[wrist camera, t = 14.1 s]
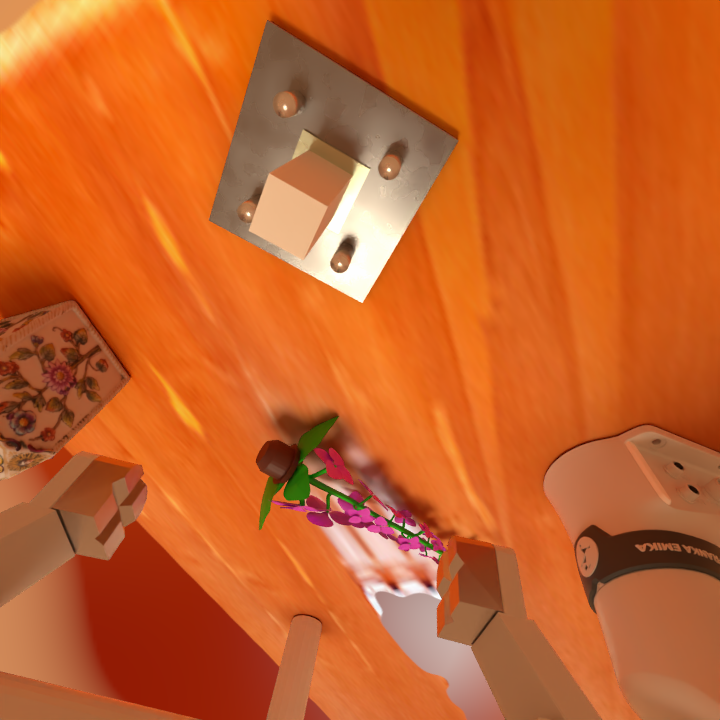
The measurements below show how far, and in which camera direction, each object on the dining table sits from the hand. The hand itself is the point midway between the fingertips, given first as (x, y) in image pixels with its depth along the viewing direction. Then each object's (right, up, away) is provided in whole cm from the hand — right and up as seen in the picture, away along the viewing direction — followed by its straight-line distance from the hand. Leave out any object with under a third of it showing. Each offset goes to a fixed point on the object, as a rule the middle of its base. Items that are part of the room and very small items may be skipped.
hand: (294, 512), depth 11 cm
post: (-2, +19, +24) cm, 30 cm away
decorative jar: (-34, +6, +40) cm, 53 cm away
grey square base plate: (-1, +19, +25) cm, 32 cm away
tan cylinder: (-9, -48, +72) cm, 87 cm away
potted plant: (+5, -13, +47) cm, 49 cm away
